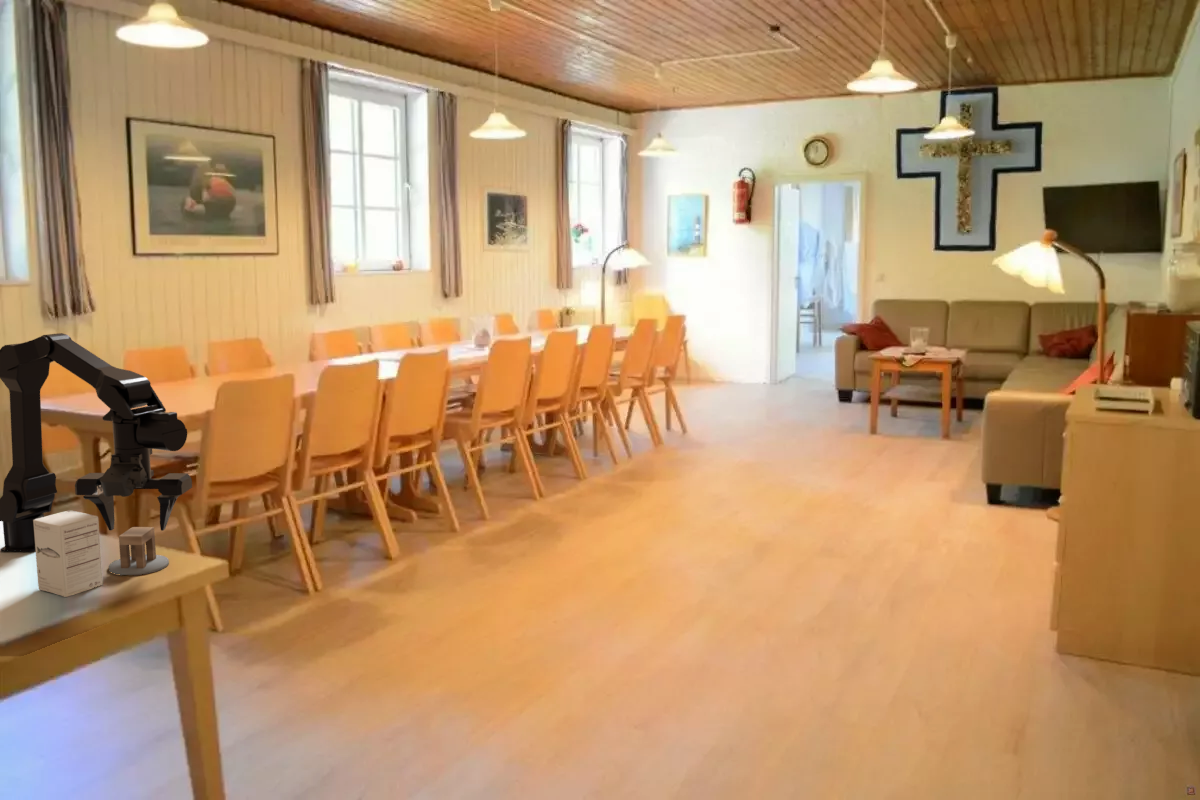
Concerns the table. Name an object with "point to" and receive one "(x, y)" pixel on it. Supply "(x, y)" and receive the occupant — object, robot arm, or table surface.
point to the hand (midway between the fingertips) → (137, 529)
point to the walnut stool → (137, 546)
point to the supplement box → (68, 552)
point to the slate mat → (133, 570)
